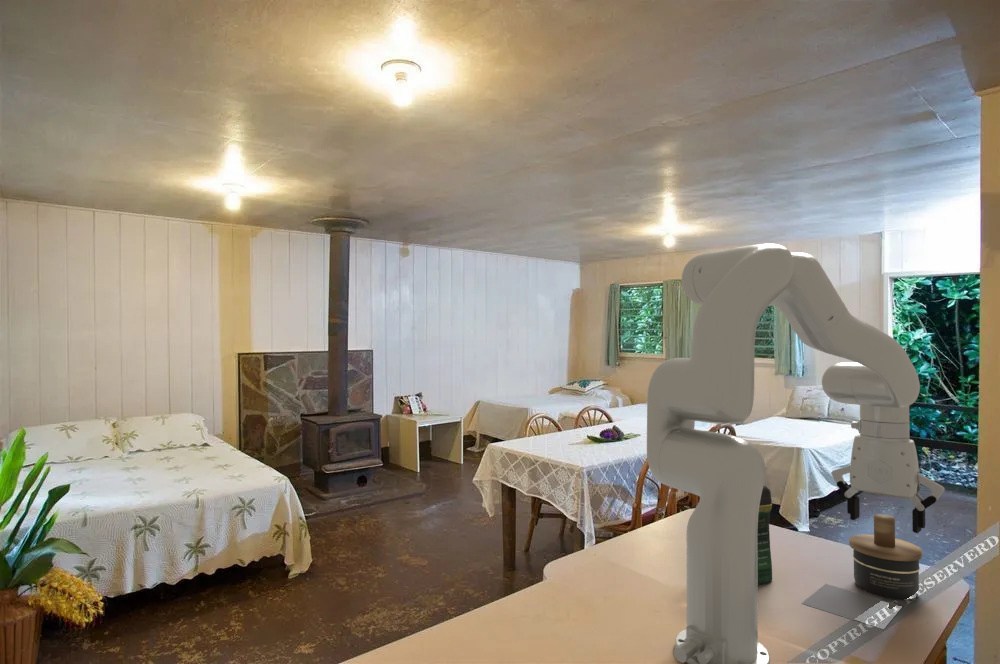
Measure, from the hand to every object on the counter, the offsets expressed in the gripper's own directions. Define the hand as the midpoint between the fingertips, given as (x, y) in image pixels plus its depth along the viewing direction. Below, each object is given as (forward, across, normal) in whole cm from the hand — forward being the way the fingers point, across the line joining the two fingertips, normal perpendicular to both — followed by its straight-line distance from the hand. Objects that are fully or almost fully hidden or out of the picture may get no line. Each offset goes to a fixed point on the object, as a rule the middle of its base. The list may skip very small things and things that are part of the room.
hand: (884, 524), depth 103 cm
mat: (+12, -2, -12) cm, 17 cm away
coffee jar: (+12, -20, -13) cm, 27 cm away
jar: (+12, 0, 0) cm, 12 cm away
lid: (+5, 0, 0) cm, 5 cm away
